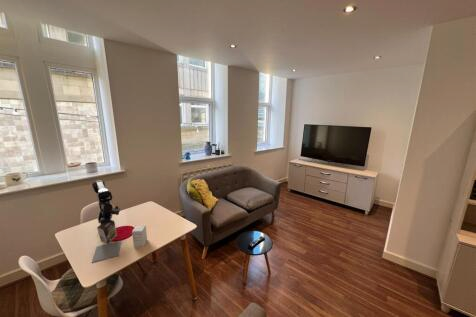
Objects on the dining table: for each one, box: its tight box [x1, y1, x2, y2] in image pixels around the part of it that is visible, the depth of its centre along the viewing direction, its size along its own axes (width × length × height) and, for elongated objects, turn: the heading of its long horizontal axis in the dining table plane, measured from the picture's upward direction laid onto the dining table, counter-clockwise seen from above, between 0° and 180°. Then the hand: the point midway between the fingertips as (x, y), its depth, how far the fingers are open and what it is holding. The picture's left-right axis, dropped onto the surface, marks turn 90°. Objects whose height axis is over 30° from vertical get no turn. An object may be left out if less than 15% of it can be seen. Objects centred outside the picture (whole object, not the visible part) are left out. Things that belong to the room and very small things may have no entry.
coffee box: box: [96, 219, 118, 245], centre depth 142 cm, size 9×6×16 cm
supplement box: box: [131, 225, 148, 247], centre depth 144 cm, size 7×7×13 cm
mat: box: [91, 240, 122, 264], centre depth 136 cm, size 17×15×1 cm
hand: (108, 225), depth 148 cm, fingers closed
